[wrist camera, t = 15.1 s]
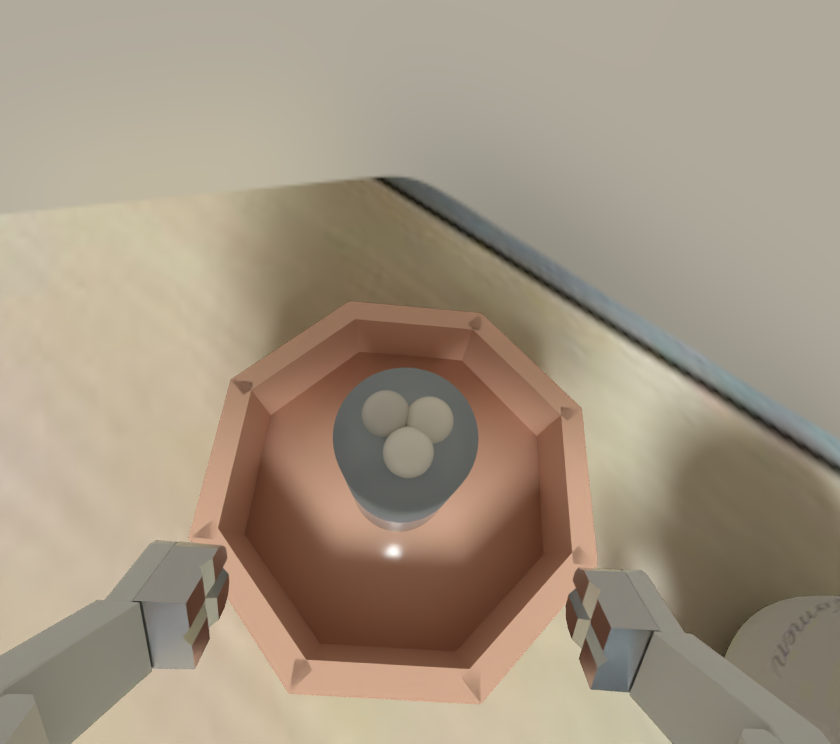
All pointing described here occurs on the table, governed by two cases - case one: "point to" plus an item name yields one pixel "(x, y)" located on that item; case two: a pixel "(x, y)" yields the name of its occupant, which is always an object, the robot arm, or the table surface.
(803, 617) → the teacup
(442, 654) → the terracotta bowl
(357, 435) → the pebble cup
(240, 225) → the table surface
